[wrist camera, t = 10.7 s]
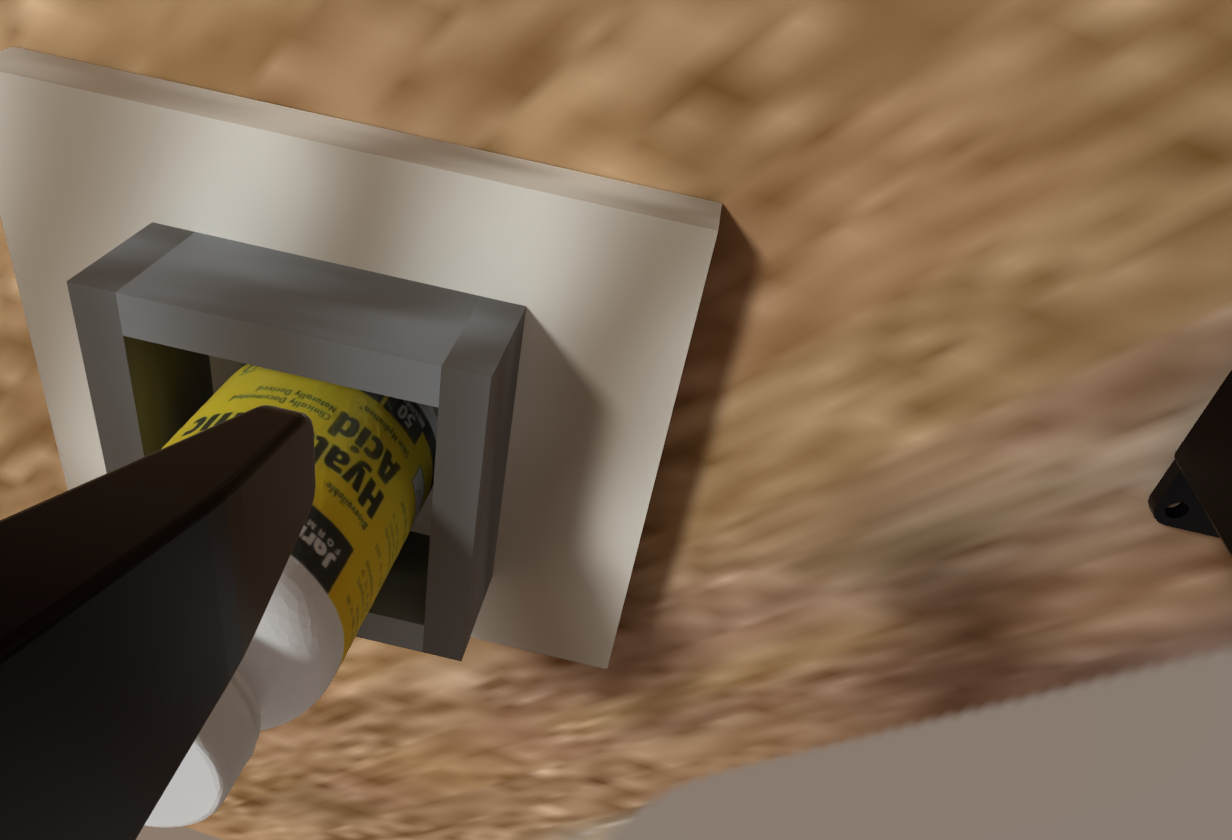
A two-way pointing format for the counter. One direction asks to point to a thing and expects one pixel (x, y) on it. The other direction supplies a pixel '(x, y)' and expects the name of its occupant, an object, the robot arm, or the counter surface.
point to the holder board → (365, 322)
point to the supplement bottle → (309, 566)
